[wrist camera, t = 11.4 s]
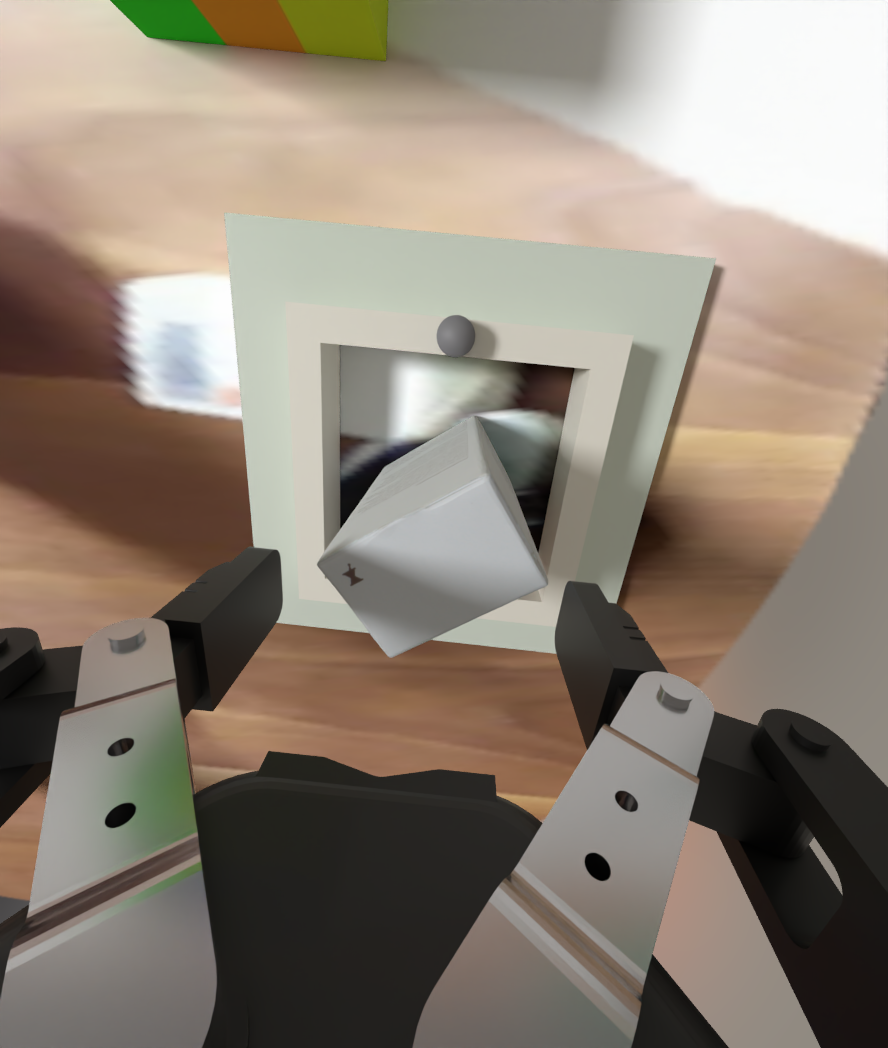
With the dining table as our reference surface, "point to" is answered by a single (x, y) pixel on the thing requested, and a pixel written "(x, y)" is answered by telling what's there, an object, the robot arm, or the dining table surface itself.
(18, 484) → the dining table surface
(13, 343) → the dining table surface
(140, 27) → the puzzle toy
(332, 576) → the skincare box
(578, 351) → the plate
